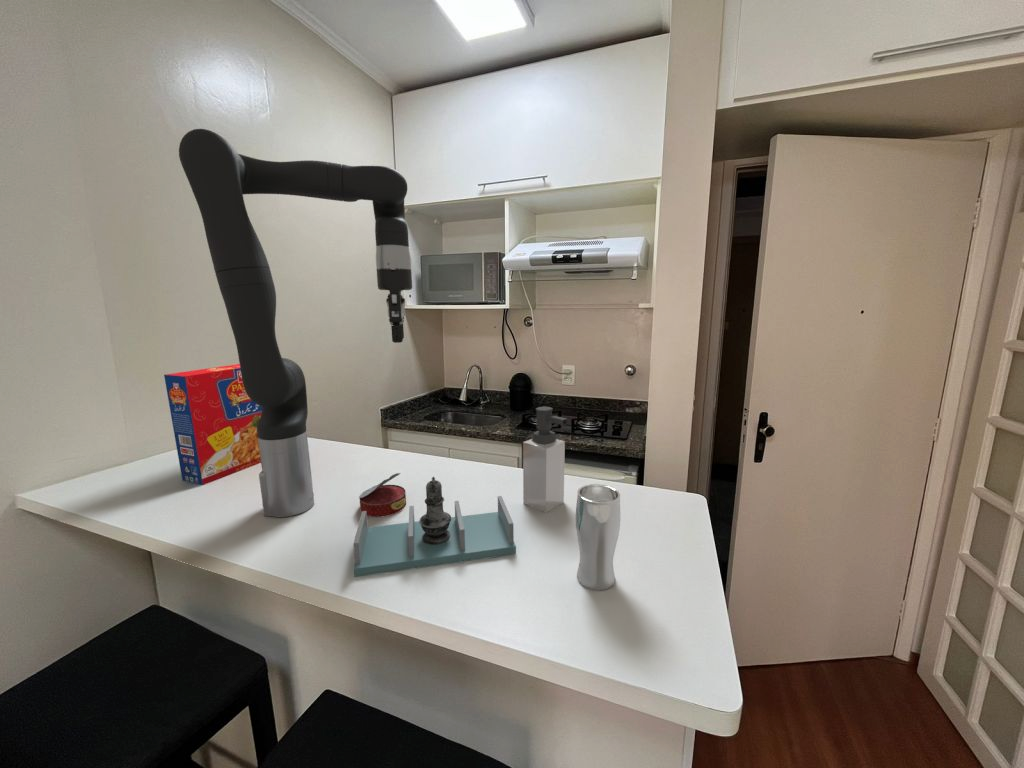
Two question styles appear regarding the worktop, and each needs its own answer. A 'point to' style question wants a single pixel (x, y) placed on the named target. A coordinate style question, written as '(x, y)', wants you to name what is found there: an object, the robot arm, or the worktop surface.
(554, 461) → the soap dispenser
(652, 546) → the worktop surface
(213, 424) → the pasta box
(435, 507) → the grey chess piece
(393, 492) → the canned food
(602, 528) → the beer glass
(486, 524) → the rack
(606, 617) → the worktop surface
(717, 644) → the worktop surface
